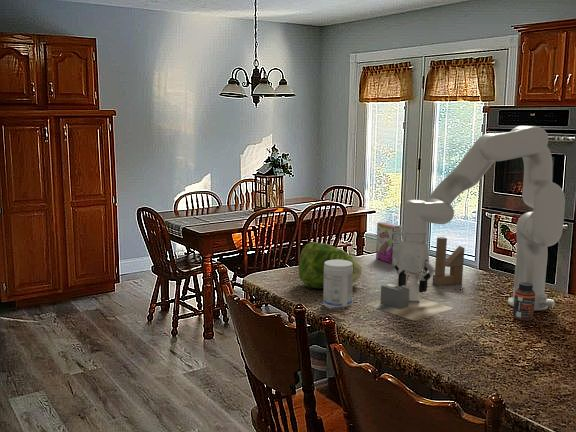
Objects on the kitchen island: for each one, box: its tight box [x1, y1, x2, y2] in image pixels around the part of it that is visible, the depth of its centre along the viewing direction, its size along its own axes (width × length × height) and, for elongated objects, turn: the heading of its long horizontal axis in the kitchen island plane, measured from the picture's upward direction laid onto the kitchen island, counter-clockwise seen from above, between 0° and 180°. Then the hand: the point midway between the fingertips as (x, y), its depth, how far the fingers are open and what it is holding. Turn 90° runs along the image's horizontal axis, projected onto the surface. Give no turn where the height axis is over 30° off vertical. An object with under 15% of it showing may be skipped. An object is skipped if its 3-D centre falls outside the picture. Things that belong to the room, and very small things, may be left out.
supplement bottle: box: [512, 282, 535, 322], centre depth 181 cm, size 6×6×11 cm
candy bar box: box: [375, 221, 403, 265], centre depth 254 cm, size 11×5×16 cm, turn 30°
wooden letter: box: [432, 236, 465, 287], centre depth 218 cm, size 4×11×18 cm, turn 106°
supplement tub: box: [322, 259, 354, 309], centre depth 191 cm, size 10×10×15 cm
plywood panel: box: [365, 297, 455, 322], centre depth 189 cm, size 20×20×1 cm
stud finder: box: [379, 282, 409, 309], centre depth 189 cm, size 8×4×6 cm, turn 39°
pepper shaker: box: [405, 272, 421, 301], centre depth 195 cm, size 4×4×10 cm
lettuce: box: [298, 241, 363, 289], centre depth 213 cm, size 17×23×16 cm
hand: (412, 288), depth 195 cm, fingers open, 8 cm apart
